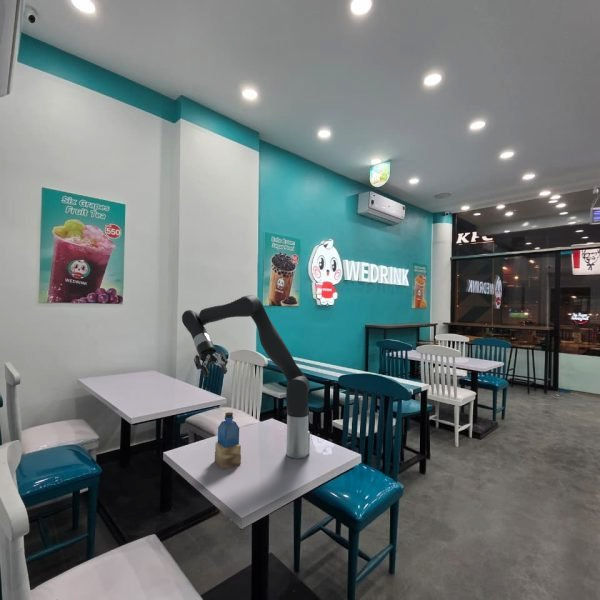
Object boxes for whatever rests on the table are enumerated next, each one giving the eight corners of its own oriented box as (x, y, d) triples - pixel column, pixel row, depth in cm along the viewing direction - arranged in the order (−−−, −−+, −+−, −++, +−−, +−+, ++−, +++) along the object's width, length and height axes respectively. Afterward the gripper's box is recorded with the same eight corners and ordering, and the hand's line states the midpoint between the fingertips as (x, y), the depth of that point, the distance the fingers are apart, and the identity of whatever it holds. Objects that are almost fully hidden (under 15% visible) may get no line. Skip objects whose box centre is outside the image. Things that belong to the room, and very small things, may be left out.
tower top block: (234, 447, 141) (234, 438, 141) (240, 455, 134) (240, 445, 134) (215, 451, 137) (215, 441, 138) (220, 459, 130) (221, 449, 131)
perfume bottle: (231, 438, 141) (231, 410, 141) (238, 443, 136) (239, 414, 136) (217, 442, 137) (218, 413, 137) (225, 447, 132) (226, 417, 132)
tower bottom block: (233, 457, 142) (233, 447, 142) (240, 464, 135) (240, 454, 135) (214, 461, 137) (214, 451, 137) (221, 469, 131) (221, 459, 131)
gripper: (192, 341, 146) (204, 371, 138) (221, 338, 156) (234, 367, 147) (186, 352, 150) (198, 382, 141) (215, 349, 160) (228, 377, 151)
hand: (216, 374), depth 144 cm, fingers open, 8 cm apart
